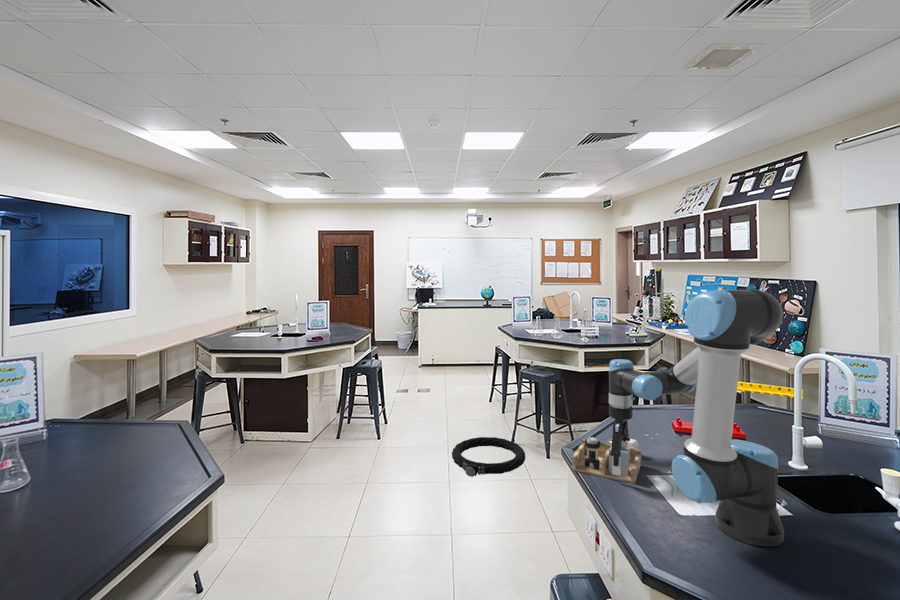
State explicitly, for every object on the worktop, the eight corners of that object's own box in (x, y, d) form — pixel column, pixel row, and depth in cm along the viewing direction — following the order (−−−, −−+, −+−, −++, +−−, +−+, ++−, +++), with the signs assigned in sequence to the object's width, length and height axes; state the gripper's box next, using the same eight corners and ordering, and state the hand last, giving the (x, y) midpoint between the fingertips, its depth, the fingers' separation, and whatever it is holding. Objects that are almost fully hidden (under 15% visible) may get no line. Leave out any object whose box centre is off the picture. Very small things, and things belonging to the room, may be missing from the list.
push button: (578, 467, 152) (578, 439, 151) (583, 461, 156) (583, 434, 155) (598, 471, 148) (598, 443, 147) (602, 465, 152) (602, 438, 152)
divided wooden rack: (634, 484, 141) (634, 465, 140) (571, 470, 151) (571, 453, 151) (640, 465, 154) (641, 448, 154) (582, 453, 164) (583, 438, 164)
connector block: (627, 476, 144) (627, 449, 144) (608, 472, 148) (609, 445, 147) (629, 470, 148) (630, 444, 148) (611, 467, 151) (611, 441, 151)
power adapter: (605, 450, 168) (605, 435, 167) (610, 446, 171) (610, 432, 170) (633, 458, 159) (633, 443, 159) (639, 454, 163) (639, 439, 162)
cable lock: (535, 442, 167) (508, 475, 141) (534, 452, 168) (508, 486, 141) (470, 431, 180) (434, 458, 154) (470, 440, 181) (434, 469, 154)
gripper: (626, 418, 134) (625, 484, 135) (637, 397, 155) (636, 455, 156) (601, 414, 137) (600, 479, 139) (615, 394, 159) (615, 451, 160)
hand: (619, 466), depth 148 cm, fingers open, 13 cm apart
